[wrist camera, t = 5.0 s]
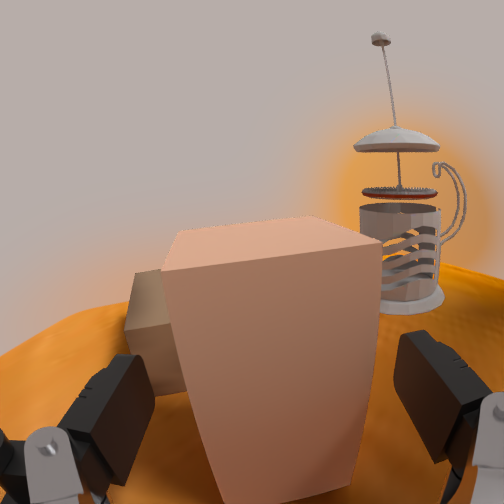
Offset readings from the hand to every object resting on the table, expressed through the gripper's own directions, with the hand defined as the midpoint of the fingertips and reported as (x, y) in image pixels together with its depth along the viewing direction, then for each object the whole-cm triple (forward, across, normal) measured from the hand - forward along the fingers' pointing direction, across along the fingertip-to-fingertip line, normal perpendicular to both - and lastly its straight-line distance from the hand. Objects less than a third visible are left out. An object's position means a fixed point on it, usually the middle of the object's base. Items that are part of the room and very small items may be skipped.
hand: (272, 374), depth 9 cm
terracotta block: (+1, 0, +6) cm, 6 cm away
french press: (+18, -14, +6) cm, 23 cm away
